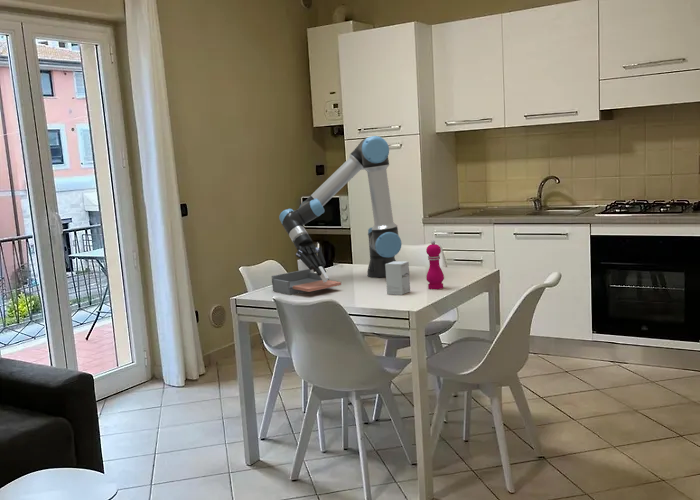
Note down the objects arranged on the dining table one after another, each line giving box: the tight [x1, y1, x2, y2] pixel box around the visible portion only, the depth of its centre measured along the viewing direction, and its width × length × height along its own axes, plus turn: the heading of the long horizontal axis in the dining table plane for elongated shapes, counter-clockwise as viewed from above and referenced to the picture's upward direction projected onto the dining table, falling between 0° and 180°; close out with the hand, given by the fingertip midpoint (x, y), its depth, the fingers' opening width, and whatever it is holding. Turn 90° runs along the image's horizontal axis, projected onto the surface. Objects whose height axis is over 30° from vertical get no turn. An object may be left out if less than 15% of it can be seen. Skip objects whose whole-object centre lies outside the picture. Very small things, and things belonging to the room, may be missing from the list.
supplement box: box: [385, 260, 411, 296], centre depth 286 cm, size 7×7×13 cm
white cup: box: [296, 258, 315, 273], centre depth 333 cm, size 8×8×10 cm
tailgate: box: [293, 279, 342, 293], centre depth 301 cm, size 2×17×12 cm
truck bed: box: [271, 269, 330, 296], centre depth 311 cm, size 15×21×7 cm
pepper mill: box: [426, 239, 445, 290], centre depth 290 cm, size 7×7×20 cm
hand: (326, 280), depth 295 cm, fingers closed
